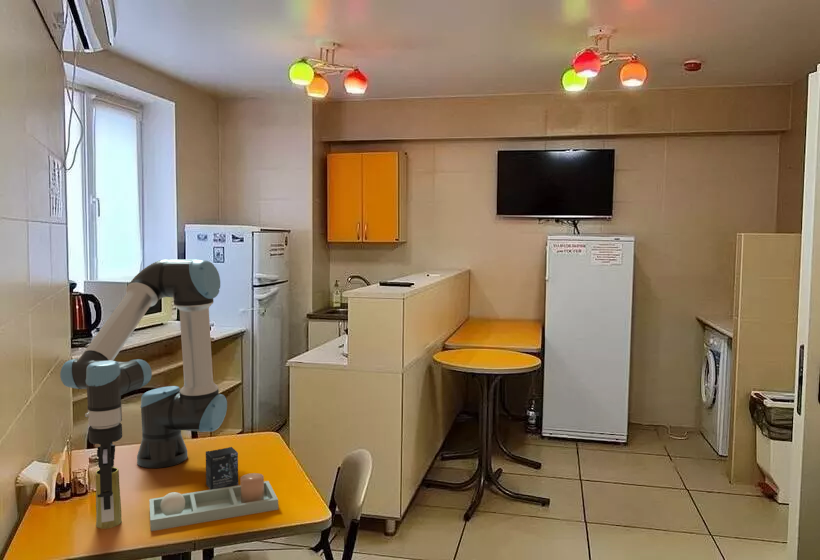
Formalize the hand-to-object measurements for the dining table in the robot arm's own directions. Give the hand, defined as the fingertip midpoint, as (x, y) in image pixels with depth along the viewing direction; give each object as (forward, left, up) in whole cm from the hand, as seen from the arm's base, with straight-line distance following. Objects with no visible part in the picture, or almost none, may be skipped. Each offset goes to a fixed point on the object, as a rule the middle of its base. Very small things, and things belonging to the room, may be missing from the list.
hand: (108, 512), depth 161 cm
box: (-14, +29, -4) cm, 32 cm away
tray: (+2, +25, -3) cm, 25 cm away
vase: (0, 0, -4) cm, 4 cm away
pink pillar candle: (+2, +35, -3) cm, 35 cm away
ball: (+2, +15, -3) cm, 15 cm away
